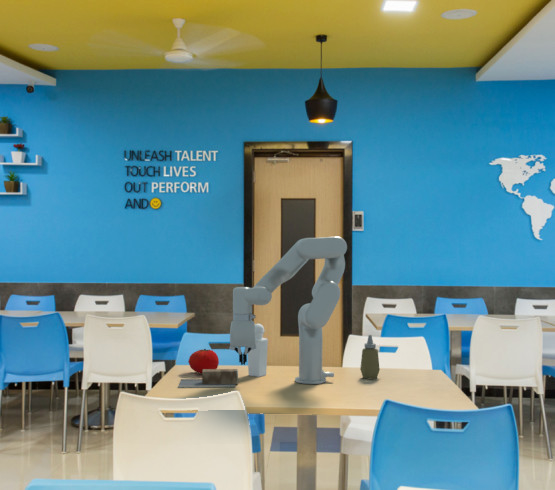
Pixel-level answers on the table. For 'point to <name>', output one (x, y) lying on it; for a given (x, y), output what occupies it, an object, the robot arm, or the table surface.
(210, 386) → the grey rubber mat
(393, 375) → the table surface
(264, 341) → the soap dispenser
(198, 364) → the tomato
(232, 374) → the walnut block
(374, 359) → the squeeze bottle
